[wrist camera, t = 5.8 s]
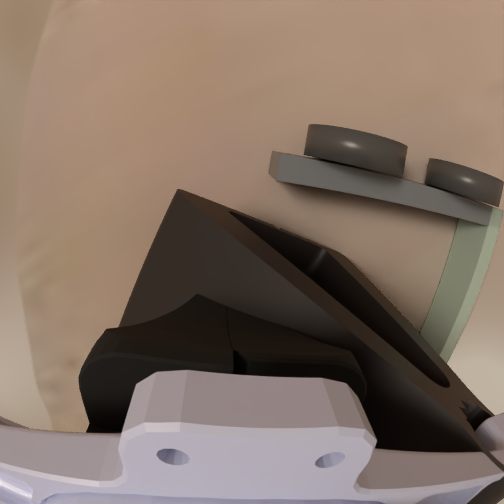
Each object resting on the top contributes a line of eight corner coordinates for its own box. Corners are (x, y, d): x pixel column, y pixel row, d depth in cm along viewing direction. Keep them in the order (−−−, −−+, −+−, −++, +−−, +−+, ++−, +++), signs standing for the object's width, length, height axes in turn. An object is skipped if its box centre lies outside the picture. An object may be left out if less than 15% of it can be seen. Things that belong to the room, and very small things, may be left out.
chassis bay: (411, 376, 19) (436, 415, 15) (235, 376, 17) (237, 428, 14) (479, 178, 14) (528, 193, 11) (276, 122, 13) (294, 115, 9)
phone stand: (341, 253, 15) (530, 425, 6) (278, 345, 17) (417, 521, 8) (175, 185, 10) (504, 584, 1) (114, 327, 11) (252, 643, 2)
